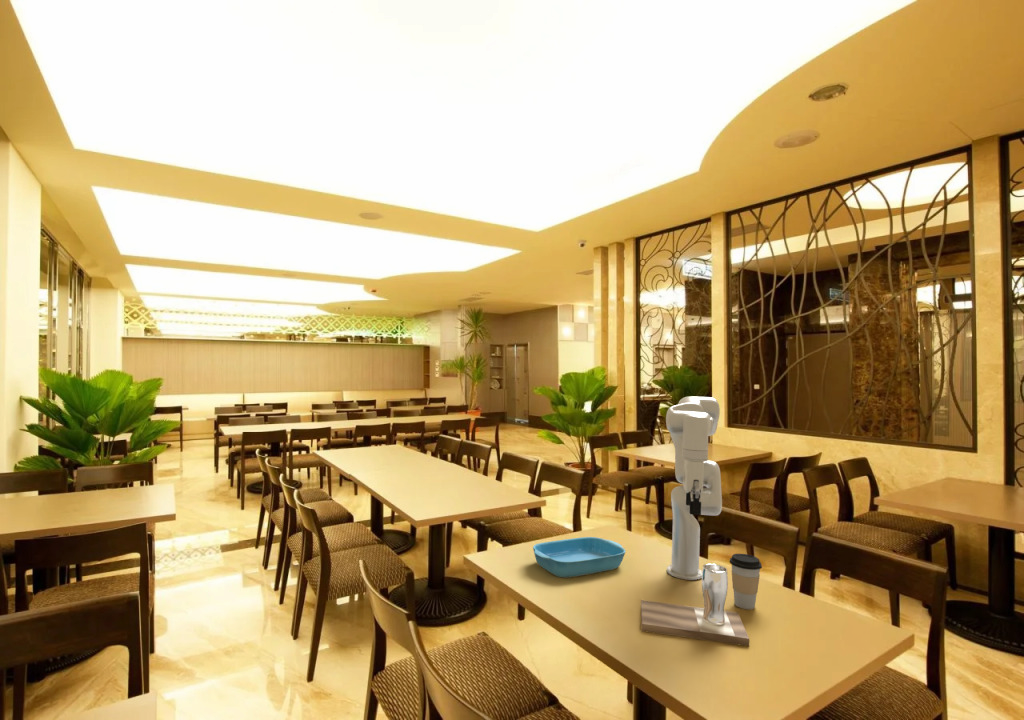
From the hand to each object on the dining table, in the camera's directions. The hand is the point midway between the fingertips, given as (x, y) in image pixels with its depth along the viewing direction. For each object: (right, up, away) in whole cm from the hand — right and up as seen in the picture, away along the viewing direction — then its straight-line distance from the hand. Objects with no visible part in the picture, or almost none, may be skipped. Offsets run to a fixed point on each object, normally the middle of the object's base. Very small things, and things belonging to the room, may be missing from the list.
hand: (693, 509), depth 163 cm
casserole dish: (-31, -31, +33) cm, 55 cm away
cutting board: (-4, -30, -10) cm, 32 cm away
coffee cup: (+18, -32, +4) cm, 36 cm away
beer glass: (+2, -29, -12) cm, 31 cm away
